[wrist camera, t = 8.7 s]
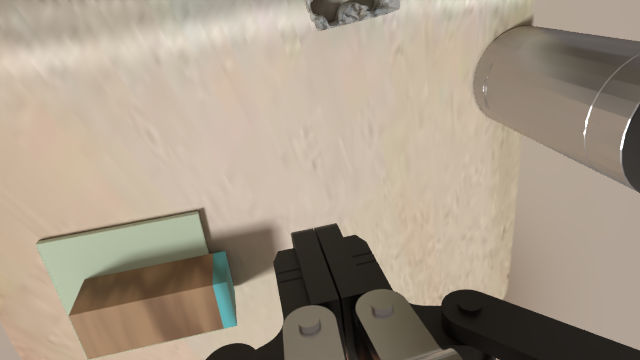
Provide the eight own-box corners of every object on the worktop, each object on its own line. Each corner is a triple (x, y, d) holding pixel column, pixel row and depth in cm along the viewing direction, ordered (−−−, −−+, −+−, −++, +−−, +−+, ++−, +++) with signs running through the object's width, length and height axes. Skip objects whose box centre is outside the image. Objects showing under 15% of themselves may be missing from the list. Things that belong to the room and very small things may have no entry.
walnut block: (226, 282, 38) (68, 315, 36) (237, 325, 41) (88, 359, 39) (225, 250, 43) (84, 279, 41) (234, 291, 45) (101, 320, 43)
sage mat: (198, 210, 41) (198, 213, 41) (226, 324, 47) (226, 328, 47) (38, 240, 39) (35, 244, 39) (89, 355, 45) (87, 360, 45)
